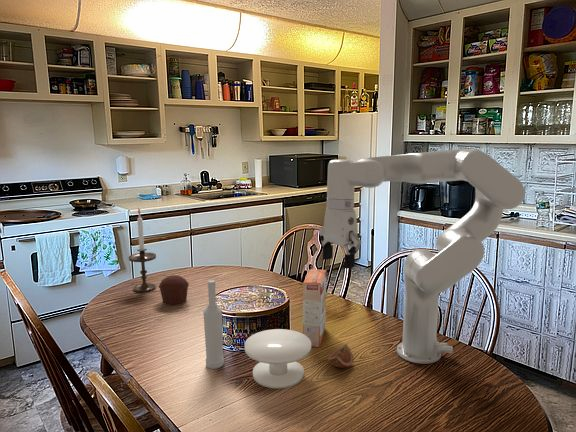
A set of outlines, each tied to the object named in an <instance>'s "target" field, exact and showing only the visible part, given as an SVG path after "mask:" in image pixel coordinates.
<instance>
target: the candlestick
mask: <svg viewBox="0 0 576 432" xmlns="http://www.w3.org/2000/svg"><path fill="white" fill-rule="evenodd" d="M137 213H138V218H137V220H136V221H137V231H138V245H139V246H138V247H139V249H136V251H137V252H138V253H134V254H131V255H129V256H128V260H129V262H132V263H141V270H140V271H139V273H140V275H141V276H140V279H142V283H140V284H136V285H134V286H133V289H132V290H133V292H135V293H138V294H139V293H141V294H142V293H148V292H152V291H154V290H156V288H157V284H155V283H151V282H148V283H147V280H146V279H147V278H148V277H147V273H148V271H147V270H146V262H150V261H153V260H156V259H157V255H156V253H154V252H146V251H147V250H148V249H147V248H145V241H144V240H145V237H144V227H143V226H144V225H143V218H142V217H141V216H142V215H141V209H140V207H138V210H137Z"/></svg>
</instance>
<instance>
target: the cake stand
mask: <svg viewBox="0 0 576 432" xmlns="http://www.w3.org/2000/svg"><path fill="white" fill-rule="evenodd" d="M311 351H312V347H311V341H310V339H309V338H308V337H307V336H305V335H304V334H303V332H302V333H301V332H299V331H298V330H297V331H296V330H292V329H284V328H283V329H282V328H276V329H275V328H274V329H266V330H262V331H259V332H255V333H254V334H252V335H250V336H249V337H248V338H247V339H246V340H245V342H244V352H245V354H246V355H247V356H248V357H249V358H250V359H252V360H254V361H256V362H258V363H257V364H255V366H254V367H253V368H252V379H253V380H254V382H255V383H257V384H258V385H259V386H262V387H264V388H268V389H278V390H279V389H287V388H291V387H294V386H296V385H297V384H299V383H301V381H303V378H304V376H305V370H304V367H303V365H302V364H300V363H299V362H298V361H300V360H303V359H304V358H306V357H307V356H308V355H309V354H310V353H311Z"/></svg>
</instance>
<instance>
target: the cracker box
mask: <svg viewBox="0 0 576 432" xmlns="http://www.w3.org/2000/svg"><path fill="white" fill-rule="evenodd" d="M302 286H303V287H302V290H303V291H302V334H304V335H305V336H307V337H308V338H309V339H310V341H311V348H321V345H322V341H323V337H324V334H325V330H326V311H327V308H326V306H327V305H326V304H327V303H326V302H327V270H326V269H315V268H313V269H312V268H311V269H309V270H308V273H307V275H306V277H305V279H304V281H303V284H302Z"/></svg>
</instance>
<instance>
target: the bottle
mask: <svg viewBox="0 0 576 432" xmlns="http://www.w3.org/2000/svg"><path fill="white" fill-rule="evenodd" d="M207 294H208V303H207V306H206V307H205V308H204V309H203V311H202V312H203V314H202V315H203V325H204V326H203V327H204V328H203V329H204V341H205V357H206V358H205V365H206V368H208V369H211V370H215V369H220V368H221V367H223V366H224V363H225V362H224V361H225V358H224V355H223V354H224V352H223V351H224V350H223V349H224V347H223V309H222V307H220V306H218V304H217V299H216V298H217V296H216V280H214V279H210V280H207Z"/></svg>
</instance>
